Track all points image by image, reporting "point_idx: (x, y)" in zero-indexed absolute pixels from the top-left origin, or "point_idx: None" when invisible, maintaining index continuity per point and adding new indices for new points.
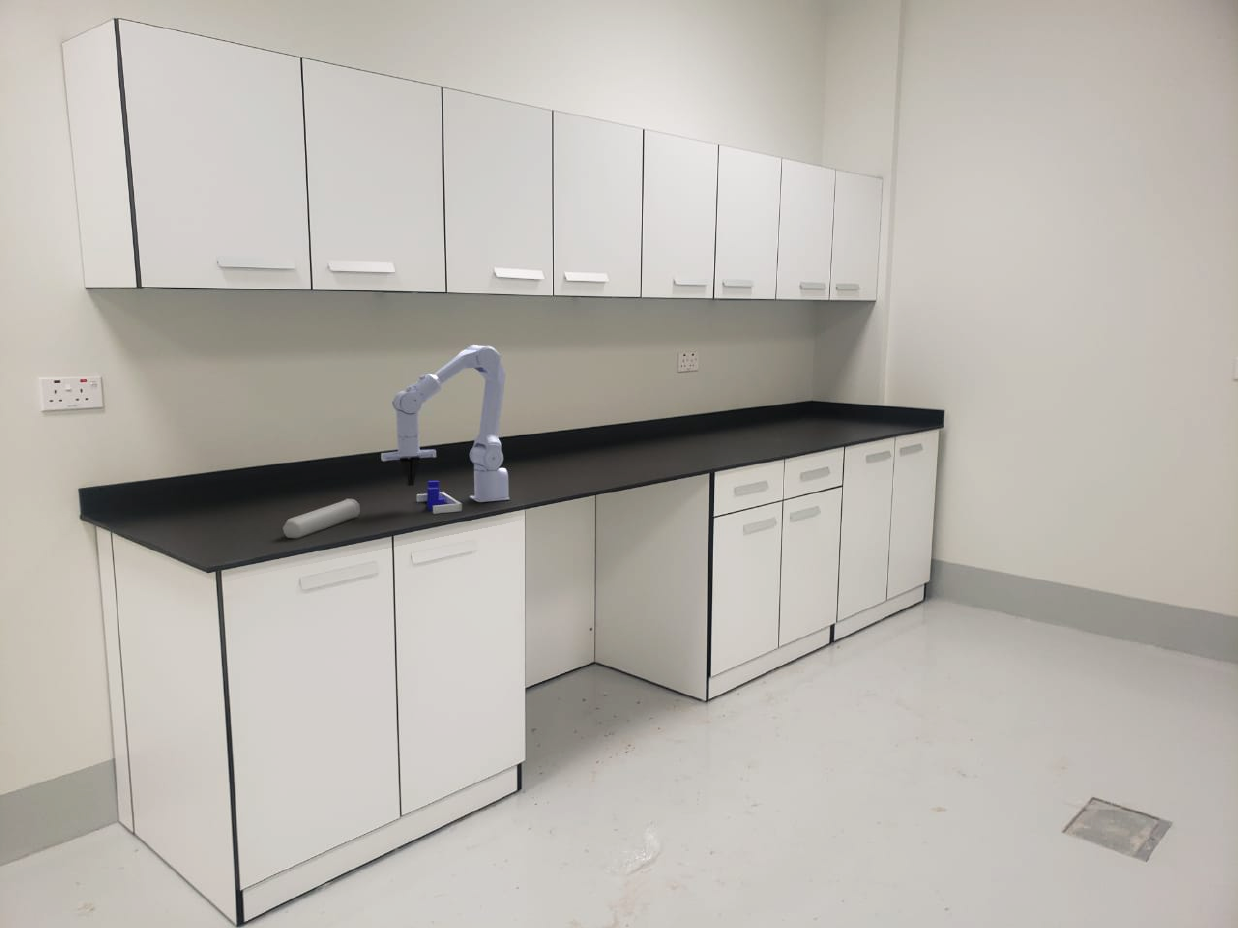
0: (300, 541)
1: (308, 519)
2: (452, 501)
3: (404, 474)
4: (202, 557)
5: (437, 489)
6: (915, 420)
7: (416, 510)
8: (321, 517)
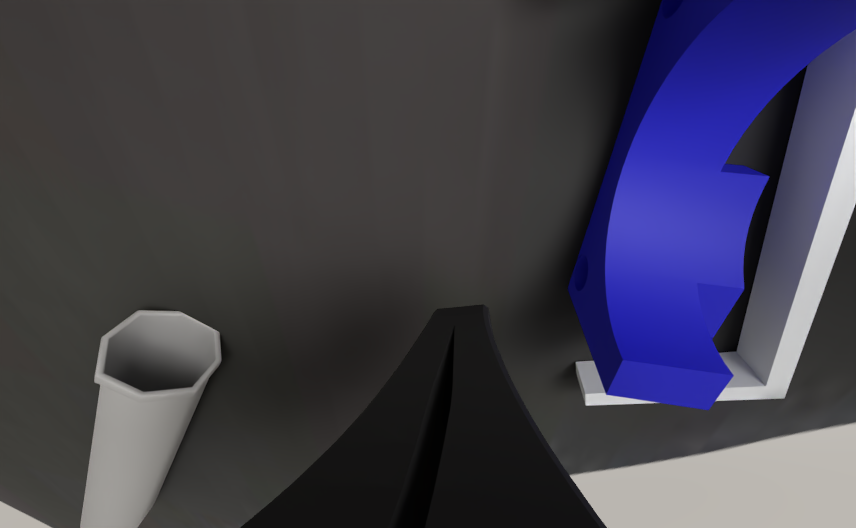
0: (177, 505)
1: (127, 518)
2: (790, 271)
3: (388, 394)
4: (54, 523)
5: (696, 404)
6: None
7: (500, 280)
8: (146, 495)
